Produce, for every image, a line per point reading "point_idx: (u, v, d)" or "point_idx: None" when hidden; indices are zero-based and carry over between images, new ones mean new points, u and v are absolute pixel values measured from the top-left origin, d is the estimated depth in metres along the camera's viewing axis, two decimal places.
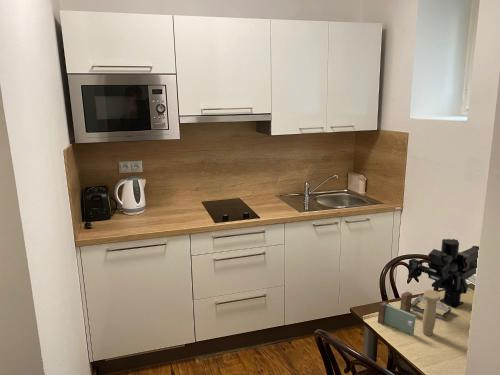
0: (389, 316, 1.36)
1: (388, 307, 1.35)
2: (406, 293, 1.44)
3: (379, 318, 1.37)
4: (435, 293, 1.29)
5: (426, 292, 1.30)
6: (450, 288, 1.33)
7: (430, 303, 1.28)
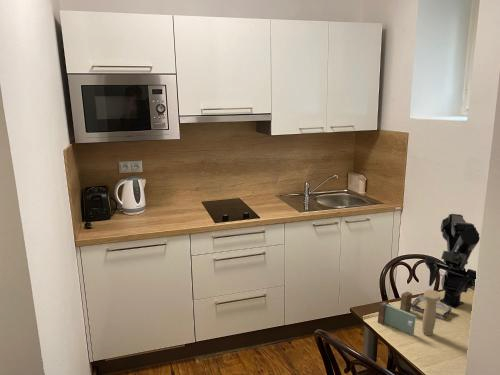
0: (389, 316, 1.36)
1: (388, 307, 1.35)
2: (406, 293, 1.44)
3: (379, 318, 1.37)
4: (435, 293, 1.29)
5: (426, 292, 1.30)
6: (474, 285, 1.31)
7: (430, 303, 1.28)
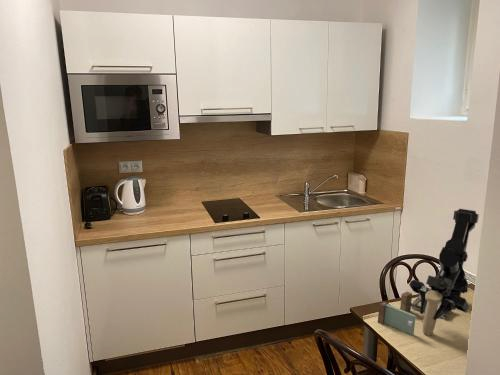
0: (389, 316, 1.36)
1: (388, 307, 1.35)
2: (406, 293, 1.44)
3: (379, 318, 1.37)
4: (437, 294, 1.28)
5: (428, 293, 1.29)
6: (452, 309, 1.28)
7: (431, 304, 1.27)
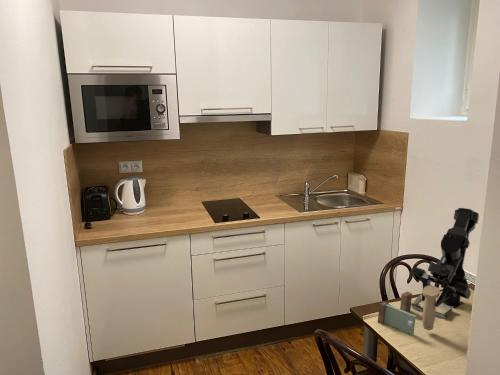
0: (389, 316, 1.36)
1: (388, 307, 1.35)
2: (406, 293, 1.44)
3: (379, 318, 1.37)
4: (434, 289, 1.28)
5: (425, 288, 1.28)
6: (454, 295, 1.27)
7: (429, 300, 1.27)
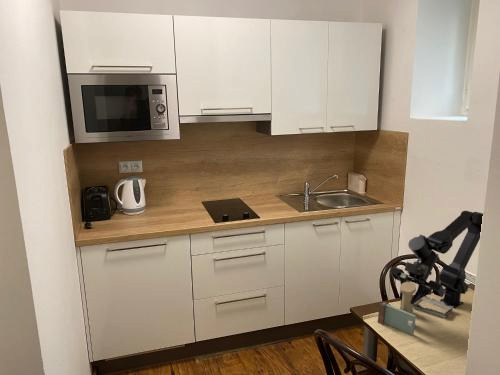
0: (389, 316, 1.36)
1: (388, 307, 1.35)
2: None
3: (379, 318, 1.37)
4: (411, 285, 1.34)
5: (402, 285, 1.35)
6: (429, 294, 1.34)
7: (406, 295, 1.33)
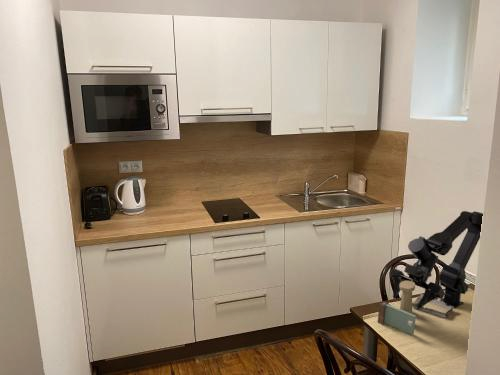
0: (389, 316, 1.36)
1: (388, 307, 1.35)
2: None
3: (379, 318, 1.37)
4: (410, 283, 1.36)
5: (402, 283, 1.36)
6: (435, 298, 1.32)
7: (406, 293, 1.34)
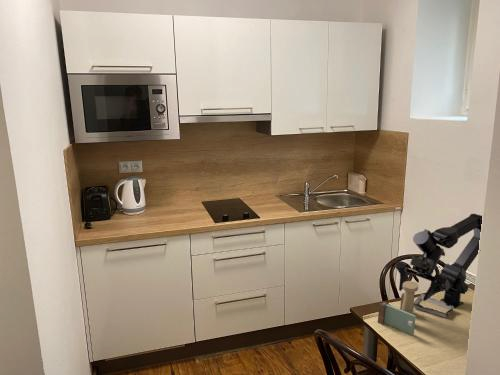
0: (389, 316, 1.36)
1: (388, 307, 1.35)
2: None
3: (379, 318, 1.37)
4: (413, 284, 1.35)
5: (405, 283, 1.36)
6: (441, 290, 1.34)
7: (408, 293, 1.34)
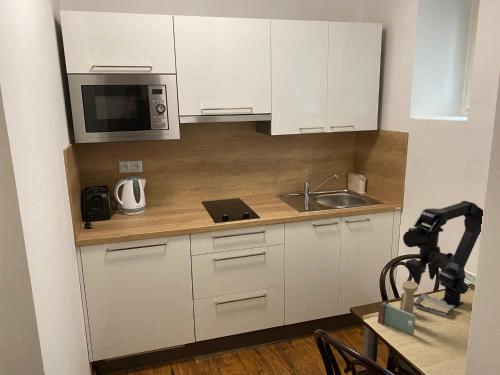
0: (389, 316, 1.36)
1: (388, 307, 1.35)
2: None
3: (379, 318, 1.37)
4: (413, 284, 1.36)
5: (404, 283, 1.36)
6: None
7: (408, 293, 1.34)
